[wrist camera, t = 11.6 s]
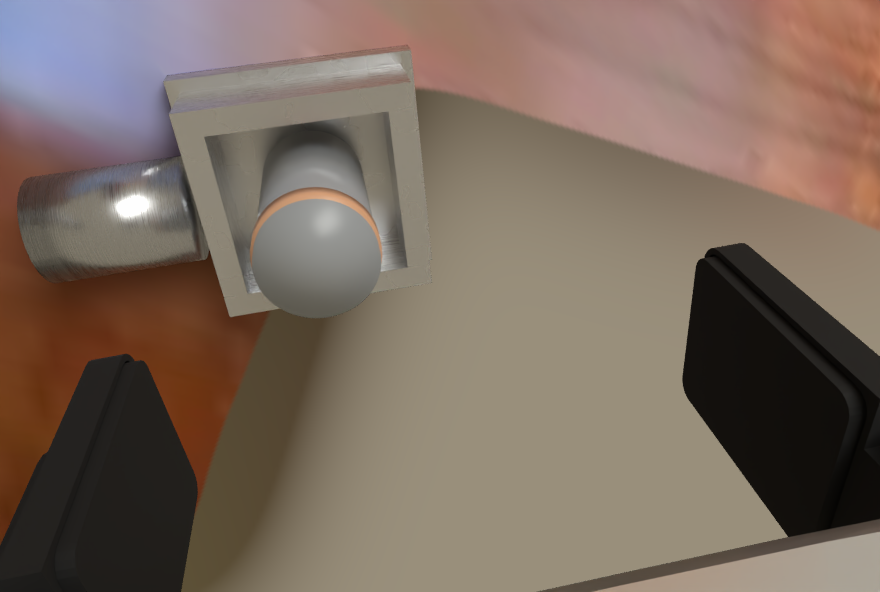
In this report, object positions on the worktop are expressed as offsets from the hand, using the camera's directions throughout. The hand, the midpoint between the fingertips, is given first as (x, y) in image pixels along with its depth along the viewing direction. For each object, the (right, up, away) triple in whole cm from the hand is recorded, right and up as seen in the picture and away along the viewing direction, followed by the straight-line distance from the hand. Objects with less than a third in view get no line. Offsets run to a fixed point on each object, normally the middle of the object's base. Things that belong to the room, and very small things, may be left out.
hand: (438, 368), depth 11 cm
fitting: (-9, +6, +19) cm, 22 cm away
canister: (-6, +6, +18) cm, 20 cm away
